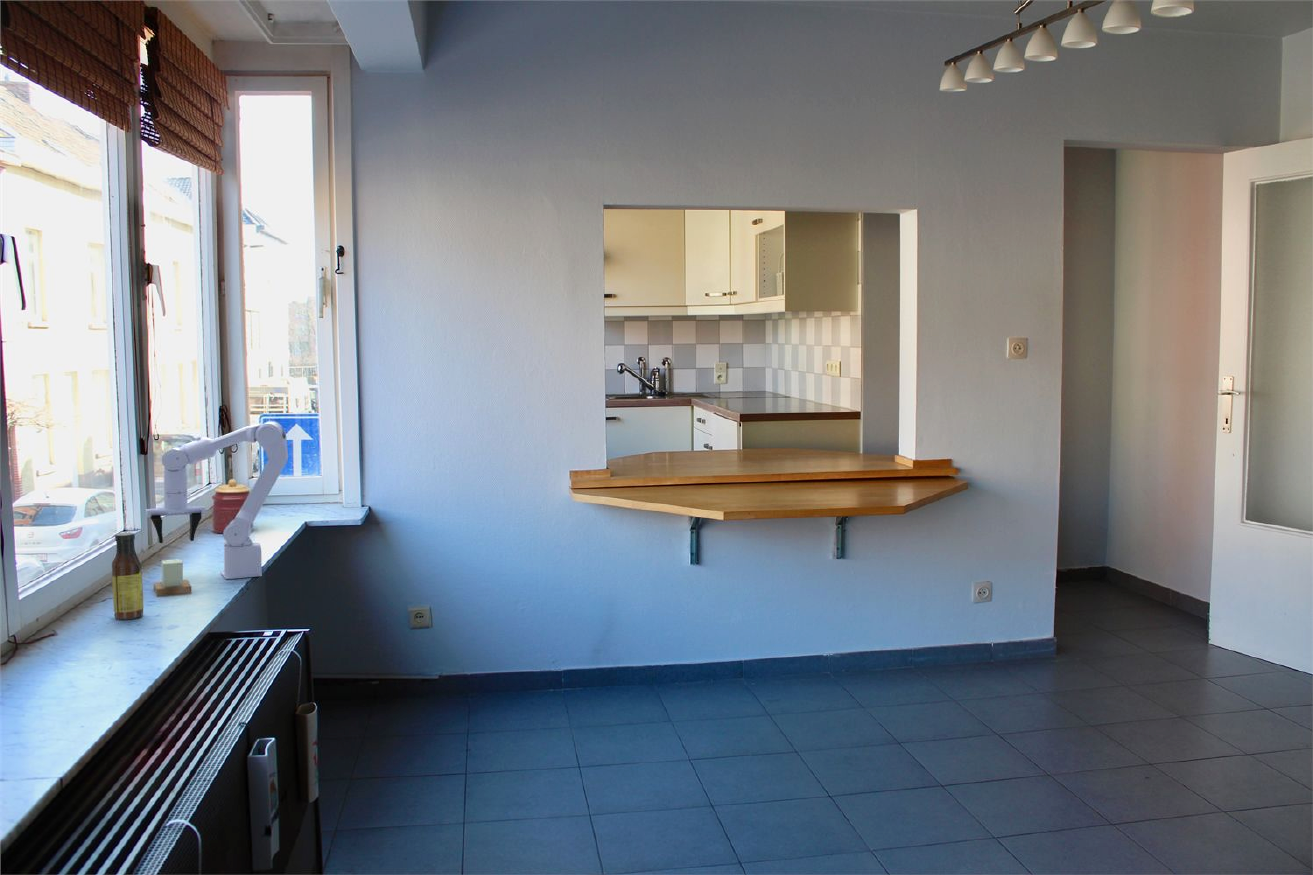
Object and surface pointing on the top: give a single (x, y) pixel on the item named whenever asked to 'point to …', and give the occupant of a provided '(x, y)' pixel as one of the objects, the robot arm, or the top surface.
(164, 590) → the walnut base block
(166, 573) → the sage block
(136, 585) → the sauce bottle
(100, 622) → the top surface
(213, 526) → the canister
